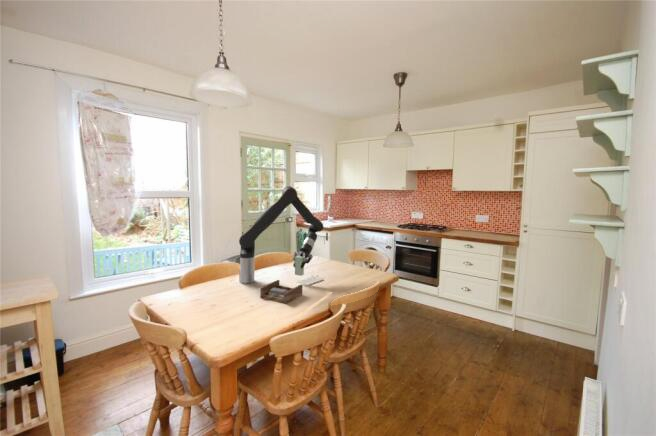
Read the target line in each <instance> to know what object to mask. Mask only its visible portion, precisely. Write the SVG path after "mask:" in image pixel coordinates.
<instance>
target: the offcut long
mask: <svg viewBox="0 0 656 436" xmlns="http://www.w3.org/2000/svg"><path fill="white" fill-rule="evenodd" d="M268 295H270V296H274V297H278V298H283V299H284V296H283V295H278V294H272V293H270V292H269V293H268Z"/></svg>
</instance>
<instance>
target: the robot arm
mask: <svg viewBox="0 0 656 436" xmlns="http://www.w3.org/2000/svg"><path fill="white" fill-rule="evenodd" d="M290 205H292V206H293V207H294V208H295V210H296V211H297V213H298V214H299V215H300V217H301V218H302V219H303V220H304V222H305V223H306V224H309V227H308V230H307V235H306V237H305V239H304V240H303V243H302V244H301V245H300V249H299V251H297V252H293V257H292V260H293V264H292V265H293V268H295V257H296V256H301V257H304V260H303V262H302V264H301V266H300V267H301V268H303V267H304V268H305V266H306V264H309V263H310V262H311V260H312V259H313V254H311V253H312V251H313V249H314V246H315V244H316V242H317V239H318V234H317V233H319V232H322V231H323V230H324V223H323V222H322V221H321V220H320V219H318V218H317V217H316V216H314V214H313V213H312V212H311V210H310V209H309V208H308V207H307V206H306V205H305V204H304V203H303V202H302V201H301V199H300V198H299V196H298V191H297V190H296V188H294V187H293V186H285V187H283V189H282V190H281V196H280V197H279V199H278V200H277V201H276V202H274V203H273V204H271V205H270V206H268V207H267V208H266V209H265V210H264V211H263V212H262V213H261V214H260V215H259V216H258V218H257V219H256V220H255V222H253V225H252V226H251V227H250V228H249V229H248V230H247V231H246V232H245V233H242V234H241V236H240V237H239V240H238V243H239V245H240V252H239V264H240V265H239V268H238V276H239V277H238V279H239V282H240V283H241V284H247V285H248V284H252V283H255V251H256V243H255V241H256V240H257V239H258V237H259V236H261V234H262V233H264V231H266V230H267V229H268V228H269V227H270V226H271V225H272V224H273V223H274V222H275V221H276V220H277V218H278V217H279V216H280V215H281V214H282V213H283V212H284V210H285V209H287V207H288V206H290Z"/></svg>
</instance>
